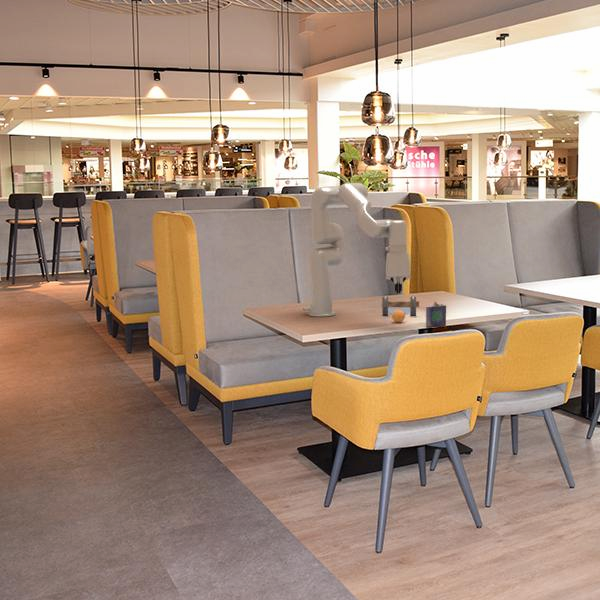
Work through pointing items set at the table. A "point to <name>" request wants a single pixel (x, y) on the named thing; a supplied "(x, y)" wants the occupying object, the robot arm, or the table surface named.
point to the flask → (436, 315)
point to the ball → (398, 316)
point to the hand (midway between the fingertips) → (398, 292)
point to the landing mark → (391, 310)
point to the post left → (384, 306)
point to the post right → (413, 306)
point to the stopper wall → (401, 303)
